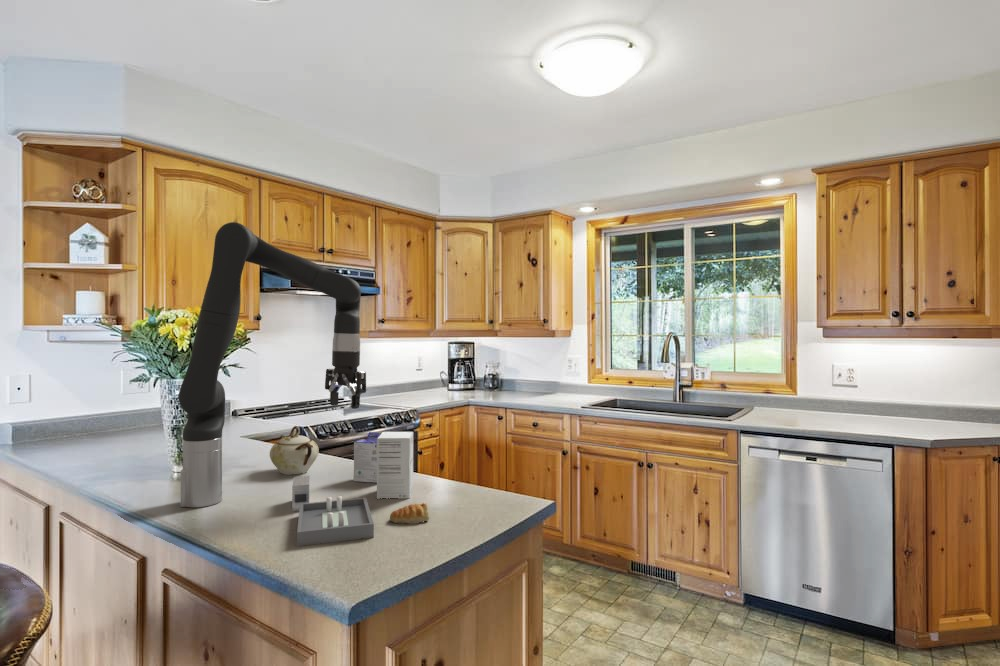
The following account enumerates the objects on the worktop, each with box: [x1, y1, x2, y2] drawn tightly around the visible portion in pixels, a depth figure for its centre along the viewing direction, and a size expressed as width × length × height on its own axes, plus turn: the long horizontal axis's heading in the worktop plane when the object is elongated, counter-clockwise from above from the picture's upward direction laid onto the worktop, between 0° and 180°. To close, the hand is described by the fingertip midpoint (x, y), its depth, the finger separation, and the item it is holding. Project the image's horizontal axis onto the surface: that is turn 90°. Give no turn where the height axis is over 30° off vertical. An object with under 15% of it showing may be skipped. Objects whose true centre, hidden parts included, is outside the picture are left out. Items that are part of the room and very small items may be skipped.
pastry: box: [389, 502, 430, 524], centre depth 132 cm, size 9×7×4 cm
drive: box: [291, 475, 310, 512], centre depth 143 cm, size 4×9×6 cm, turn 19°
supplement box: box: [376, 431, 414, 500], centre depth 153 cm, size 10×9×17 cm
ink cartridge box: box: [353, 431, 380, 484], centre depth 166 cm, size 10×6×14 cm, turn 78°
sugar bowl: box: [269, 425, 320, 476], centre depth 176 cm, size 20×15×15 cm
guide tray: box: [296, 495, 375, 547], centre depth 128 cm, size 16×20×5 cm
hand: (344, 406), depth 153 cm, fingers open, 8 cm apart
